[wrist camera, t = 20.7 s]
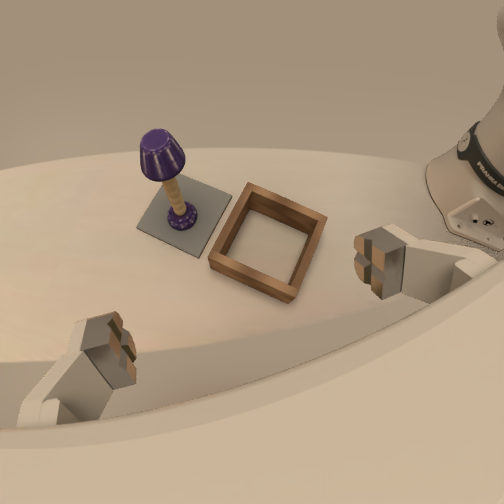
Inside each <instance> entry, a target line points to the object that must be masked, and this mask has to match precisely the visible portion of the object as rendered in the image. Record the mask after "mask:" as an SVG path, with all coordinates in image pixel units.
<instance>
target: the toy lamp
mask: <svg viewBox="0 0 504 504" xmlns="http://www.w3.org/2000/svg"><path fill="white" fill-rule="evenodd" d="M140 165H141V170H142V172H143V174H144V175H145V176H146V177H147V178H148V179H150V180H152V181H156V182H162V185H163V188H164V189H165V193H166V195H167V196H168V199H169V201H170V203H171V207H170V209H169V211H168V214H167V219H168V223H169V225H170V226H171V227H172V228H173V229H175V230H179V231H183V230H187V229H189V228H191V227H192V226H193V225H194V224H195V223H196V220H197V216H198V213H197V210H196V208H195V207H194V206H193V205H192V204H191V203H189V202H186V201H184V199H183V197H182V193H181V192H180V188H179V186H178V183H177V179H176V178H175V176H177V175H178V174H179V173H180V172H181V171H182V169H183V167H184V165H185V154H184V152H183V150H182V148H181V147H180V146H179V144H178V143H177V142H176V140H175V139H174V138H173V137H172V135H171V134H170V133H169V132H168V131H166V130H164V129H154V130H151V131H149V132H147V133H146V134H145V135H144V136H143V137H142V139H141V143H140Z"/></svg>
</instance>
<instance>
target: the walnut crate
mask: <svg viewBox="0 0 504 504" xmlns="http://www.w3.org/2000/svg"><path fill="white" fill-rule="evenodd" d="M249 209H253V210H255V211H257V212H259V213H262V214H264V215H266V216H269V217H271V218H273V219H275V220H278V221H280V222H282V223H284V224H286V225H289V226H291V227H293V228H295V229H298V230H300V231H302V232H304V233H306V234H308V235H309V236H308V238H307V241H306V243H305V245H304V248H303V250H302V253H301V255H300V257H299V260H298V262H297V264H296V267H295V269H294V272H293V274H292V276H291V279H290V281H289V283H288V285H287V284H285V283H283V282H281V281H279V280H276V279H274V278H272V277H270V276H268V275H265V274H263V273H261V272H259V271H257V270H254V269H252V268H250V267H248V266H246V265H244V264H241V263H239V262H237V261H235V260H233V259H231V258H228V257H226V254H227V252H228V250H229V248H230V246H231V244H232V242H233V240H234V238H235V236H236V234H237V232H238V230H239V228H240V226H241V224H242V222H243V220H244V218H245V216H246V214H247V213H248V211H249ZM327 218H328V217H326V216H324V215H322V214H320V213H318V212H315V211H313V210H311V209H309V208H307V207H304V206H302V205H300V204H298V203H296V202H293V201H291V200H289V199H287V198H284V197H282V196H280V195H277V194H275V193H273V192H270V191H268V190H266V189H263V188H261V187H259V186H256V185H254V184H252V183H249V182H248V183H247V184H246V186H245V188H244V190H243V192H242V194H241V195H240V197H239V199H238V201H237V203H236V205H235V206H234V208H233V210H232V212H231V214H230V216H229V218H228V219H227V221H226V223H225V225H224V227H223V229H222V231H221V233H220V234H219V236H218V238H217V240H216V242H215V244H214V246H213V248H212V250H211V252H210V253H209V255H208V261H209V264H210V268H211V269H214V270H216V271H218V272H220V273H222V274H224V275H226V276H228V277H231V278H233V279H235V280H237V281H239V282H241V283H244V284H246V285H248V286H250V287H252V288H254V289H257V290H259V291H261V292H263V293H265V294H268V295H270V296H272V297H274V298H276V299H279V300H281V301H283V302H285V303H289V302H291V301H292V300H293V299H294V298H296V295H297V293H298V290H299V288H300V286H301V283H302V281H303V279H304V276H305V274H306V271H307V269H308V266H309V264H310V261H311V259H312V257H313V254H314V252H315V249H316V246H317V244H318V241H319V239H320V236H321V234H322V231H323V229H324V226H325V223H326V221H327Z"/></svg>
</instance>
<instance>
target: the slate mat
mask: <svg viewBox="0 0 504 504" xmlns="http://www.w3.org/2000/svg"><path fill="white" fill-rule="evenodd" d="M175 178H176V179H177V183H178V186H179V188H180V192H181V193H182V197H183V199H184V201H186V202H189V203H191V204H192V205H193V206H194V207H195V208H196V210H197V213H198V216H197V220H196V223H195V224H194V225H193V226H192V227H191V228H189V229H187V230H183V231H179V230H175V229H173V228H172V227H171V226H170V225H169V223H168V219H167V214H168V211H169V209H170V207H171V203H170V201H169V199H168V196H167V195H166V193H165V189H164V188H163V185H162V186H161V188H160V189H159V191H158V192H157V194H156V196H155V197H154V199H153V200H152V202H151V204H150V205H149V207H148V208H147V210H146V212H145V213H144V215H143V217H142V218H141V220H140V222H139V223H138V225H137V227H136V228H137V229H139V230H141V231H143V232H145V233H147V234H149V235H151V236H153V237H155V238H158V239H160V240H162V241H164V242H166V243H168V244H170V245H172V246H174V247H176V248H178V249H180V250H182V251H184V252H186V253H189V254H191V255H193V256H195V257H197V258H199V257H200V255H201V253H202V251H203V250H204V248H205V246H206V244H207V242H208V240H209V238H210V236H211V235H212V233H213V231H214V229H215V227H216V225H217V223H218V222H219V220H220V218H221V216H222V214H223V212H224V211H225V209H226V207H227V205H228V203H229V202H230V200H231V198H232V195H230V194H227V193H225V192H223V191H220V190H218V189H215V188H213V187H211V186H208V185H206V184H203V183H201V182H199V181H196V180H194V179H191V178H189V177H186V176H184V175H181V174H178V175H177V176H175Z"/></svg>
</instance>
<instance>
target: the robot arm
mask: <svg viewBox="0 0 504 504" xmlns="http://www.w3.org/2000/svg"><path fill="white" fill-rule="evenodd" d="M497 31H498V35H499V38H500V41H501V43H502V46H503V50H504V4H503V5H502V6H501V8H500V10H499V12H498V16H497ZM426 179H427V185H428V188H429V191H430V194H431V196H432V198H433V200H434V202H435V203H436V205H437V206H438V208H439V209H440V211H441V212H442V214H443V216H444V219H445V222H446V225H447V228H448V229H449V231H450V232H452V233H454V234H456V235H459V236H462V237H464V238H467V239H469V240H472V241H475V242H477V243H480V244H482V245H484V246H487V247H489V248H492V249H494V250H497V251H501V250H503V249H504V86H503V89H502V92H501V94H500V96H499V98H498V99H497V101H496V102H495V104H494V106H493V107H492V108H491V110H490V111H489V112H488V113H487V114H486V116H485V117H484V118H483V119H482V120H481V121H479V122H477V123H475V124H474V125H473V126H472V127H471V128H470V129H469V130H468V131H467V132H466V133H465V135H464V136H463V137H462V138H461V140H460V141H459V142H458V144H457V145H456V146H455V147H453V148H452V149H451V150H449V151H448V152H447V153H445V154H443V155H441V156H439V157H437V158H435V159H433V160H432V161H431V162H430V163H429V164H428V167H427V171H426ZM457 226H458V227H457ZM354 248H355V249H356V251H357V254H356V256H355V258H354V267H355V270H356V273H357V275H358V277H359V279H360V280H361V281H362V282H363V283H365V284H369V285H371V290H372V291H373V292H374V293H375V294H376V295H377V296H378V297H379V298H380V299H381V300H383V299H386V298H388V297H391V296H393V295H395V294H398V293H400V292H401V293H403V294H405V295H408V296H411V297H413V298H416V299H419V300H421V301H424V302H426V303H429V305H427V306H425V307H424V308H422V309H420V310H418V311H416V312H414V313H412V314H410V315H409V316H407V317H405V318H403V319H401V320H399V321H397V322H395V323H393V324H391V325H389V326H387V327H385V328H383V329H381V330H379V331H376V332H374V333H372V334H370V335H368V336H366V337H364V338H362V339H359V340H357V341H355V342H353V343H350V344H348V345H346V346H343V347H341V348H339V349H337V350H334V351H332V352H329V353H327V354H325V355H322V356H320V357H317V358H315V359H312V360H310V361H308V362H305V363H302V364H300V365H297V366H295V367H292V368H289V369H287V370H284V371H281V372H278V373H276V374H273V375H270V376H267V377H264V378H261V379H258V380H255V381H252V382H249V383H247V384H244V385H240V386H237V387H234V388H231V389H227V390H224V391H221V392H217V393H214V394H211V395H207V396H204V397H200V398H196V399H192V400H189V401H185V402H181V403H177V404H173V405H169V406H165V407H161V408H156V409H151V410H147V411H142V412H137V413H132V414H127V415H122V416H116V417H110V418H105V419H99V418H100V416H101V414H102V412H103V410H104V408H105V406H106V404H107V402H108V401H109V399H110V397H111V395H112V393H113V390H114V389H119V388H123V387H127V386H130V385H134V384H136V367H135V366H134V364H133V363H134V361H135V360H136V348H135V344H134V341H133V339H132V336H131V335H130V333H129V331H127V330H125V329H123V328H122V326H123V320H122V319H121V317H120V315H119V313H117V312H116V311H114V312H110V313H107V314H103V315H99V316H95V317H92V318H89V319H88V318H87V319H84V320H81V321H78V322H76V323H75V324H74V327H73V331H72V334H71V338H70V341H69V345H68V349H67V352H66V355H63V356H61V358H60V359H59V360H58V361H57V362H56V363H55V364H54V365H53V367H52V368H51V369H50V370H49V371H48V372H47V373H46V375H45V376H44V377H43V378H42V379H41V380H40V382H39V383H38V384H37V385H36V386H35V388H34V389H33V390H32V391H31V392H30V393H29V395H28V396H27V397H26V398H25V399H24V401H23V402H22V405H21V409H20V413H19V417H18V422H17V427H16V428H9V429H0V504H504V258H503V259H502V260H500V261H499V262H498V261H497V260H495V259H494V258H492V257H491V256H489V255H488V254H486V253H485V252H483V251H481V250H480V249H476V248H471V247H465V246H460V245H454V244H449V243H443V242H437V241H431V240H426V239H421V240H419V239H417V238H415V237H414V236H412V235H411V234H409V233H407V232H406V231H404V230H402V229H401V228H399V227H397V226H396V225H394V224H387V225H384V226H382V227H379V228H377V229H374V230H371V231H368V232H366V233H363V234H360V235H358V236H355V239H354Z"/></svg>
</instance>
